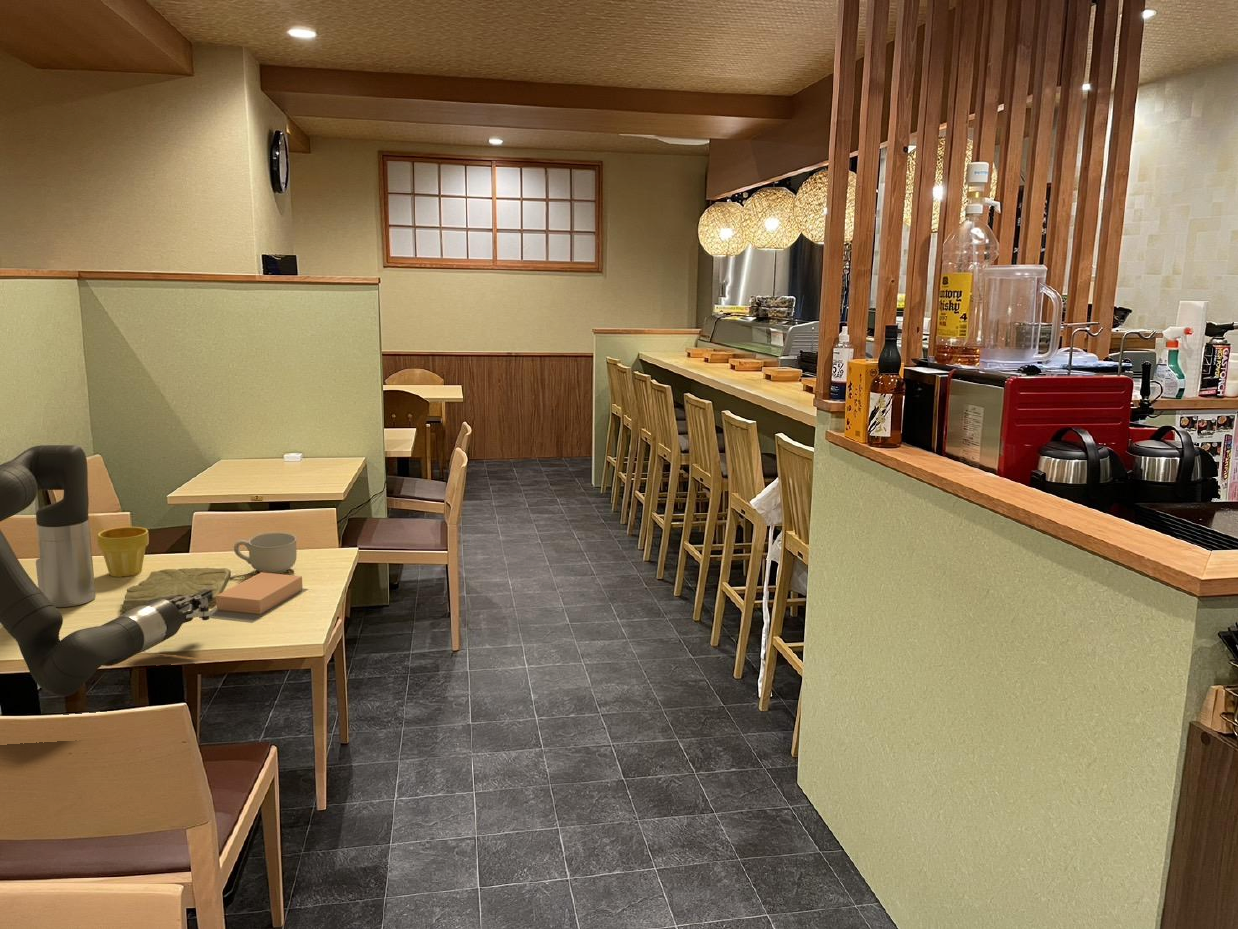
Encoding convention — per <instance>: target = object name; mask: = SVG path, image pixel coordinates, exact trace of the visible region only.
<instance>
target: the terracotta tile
mask: <svg viewBox="0 0 1238 929" xmlns="http://www.w3.org/2000/svg"><path fill="white" fill-rule="evenodd" d="M302 589H304V588H303V576H301V575H291V574H284V573H281V574H273V573H263V572H261V573H260V572H258V573H257V574H256V575H253V576H251V577H250V578H248V579H246V580H244V581H242V582H240V583H238V584H236V585H234V586H232V587H230V588H228V589H225V590H224V591H223V592H222V593H220V594H218V595H216V607H217V610H226V611H235V612H245V613H254V614H262V613H263V612H265V611H267V610H268V609H270V608H272V607H273V606H275V605H277V604H279V603H280V602H282V601H284V600H285V599H287V598H289V597H290V596H292V595H294V594H295V593H297V592H299V591H301V590H302Z"/></svg>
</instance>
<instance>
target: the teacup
mask: <svg viewBox="0 0 1238 929" xmlns="http://www.w3.org/2000/svg"><path fill="white" fill-rule="evenodd" d="M297 541H298V538H297V536H296V535H294V534H291V533H287V532H267V533H261V534H257V535H254V536H252V537H251V538H249V539H248V540H246V539H240V540H237V542H235V543H234V546H233V552H234V553H235V555H236V556H237V557H238V558H240V559H241V560H244V561H246V563H248V565H251V567H252V569H254V570H255V571H257V572H258V573H261V572H263V573H273V574H280V573H281V574H284V573H287V572H288V571H289V570H290V569H291V568H293V567H294V565H295V564H296V562H297V557H298V556H297V552H298V551H297ZM242 545H243V546H245V547H246V549H247V551H248V555H245V554H243V553H242V551H240V549H239V547H240V546H242ZM287 570H288V571H287ZM283 572H284V573H283Z"/></svg>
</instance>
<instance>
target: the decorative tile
mask: <svg viewBox="0 0 1238 929" xmlns="http://www.w3.org/2000/svg"><path fill="white" fill-rule="evenodd" d="M231 572H232V571H231V570H230V569H229V568H227V567H223V568H222V567H221V568H219V567H218V568H215V567H195V568H193V567H190V568H187V567H186V568H184V567H183V568H178V569H176V568H172V569H171V568H169V569H168V568H167V569H161V570H155V571H154V570H153V571H151V572H150V574H149V575H148V576H147V577H146V578H145V580H142V581H140V582H139V583H138V585H137V584H136V585H132V586H130V587H127V589H126V593H125V595H124V599H123V606H122V613H123V612H127V611H129V610H131V609H134V608H136V607H138V606H140V605H142V604H144V603H146V602H148V600H151V599H156V598H163V597H169V596H174V595H179V594H180V595H183V597H184V596H186V595H189V594H192V595H193V594H196V593H198V592H200V591H202V590H204V589H206V590H212V593H213V600H212V601H210V602H208V606H209V607H217V605H216V595H218V594H220V593H222V592H224V591H225V590H226V587H227V585H228V583H229V581H230V580H231V579H232V578H231V576H232V573H231Z"/></svg>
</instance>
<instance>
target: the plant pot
mask: <svg viewBox="0 0 1238 929" xmlns="http://www.w3.org/2000/svg"><path fill="white" fill-rule="evenodd" d="M96 538H97V547H98V549H99V550H100V551H101V552H102V555H103V559H104V561H105V565H106V568H107V572H108V574H109V575H110V576H111V577H114V578H115V577H116V578H123V577H122V576H126V577H130V576H129V575H132V576H135V574H136V575H138V574H140V573H141V572H142V571H143V565H144V558H145V553H146V547H148V546H149V540H150V539H149V538H150V537H149V530H148V529H147V528H146V527H140V526H118V527H113V528H108V529H105V530H104V529H103V530H102V531H100V532H98V533H97V537H96ZM139 572H140V573H139Z"/></svg>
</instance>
